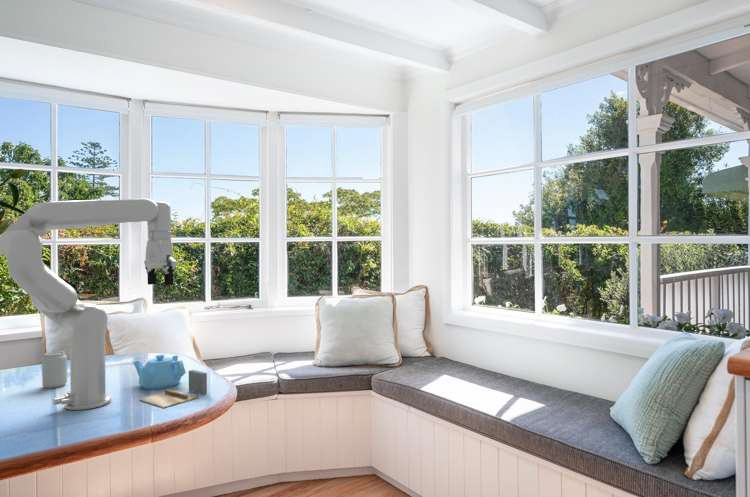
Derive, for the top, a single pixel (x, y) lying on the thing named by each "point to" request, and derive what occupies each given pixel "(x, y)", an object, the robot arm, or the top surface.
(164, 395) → the wooden ridged plate
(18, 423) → the top surface
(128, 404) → the top surface
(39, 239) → the robot arm
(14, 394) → the top surface
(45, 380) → the can
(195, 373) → the tile
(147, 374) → the teapot
